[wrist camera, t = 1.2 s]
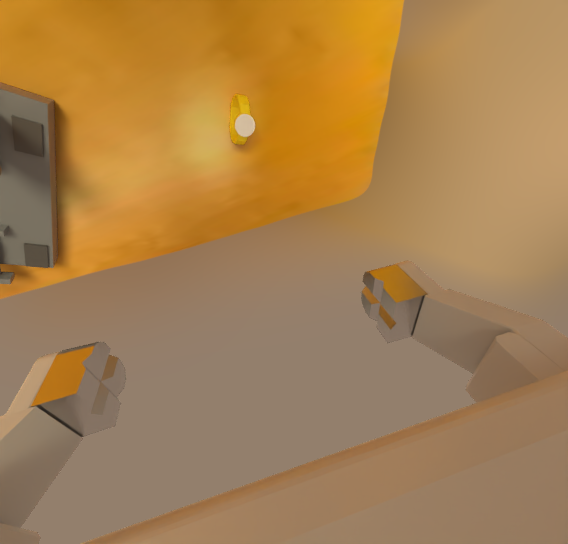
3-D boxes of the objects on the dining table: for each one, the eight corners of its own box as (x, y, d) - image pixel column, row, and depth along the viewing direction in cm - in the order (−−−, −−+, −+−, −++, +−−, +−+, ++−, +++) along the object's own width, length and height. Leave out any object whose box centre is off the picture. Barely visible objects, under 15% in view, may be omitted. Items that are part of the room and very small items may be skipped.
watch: (241, 138, 41) (252, 151, 37) (223, 136, 40) (232, 150, 36) (246, 93, 38) (258, 102, 34) (226, 89, 36) (237, 98, 32)
